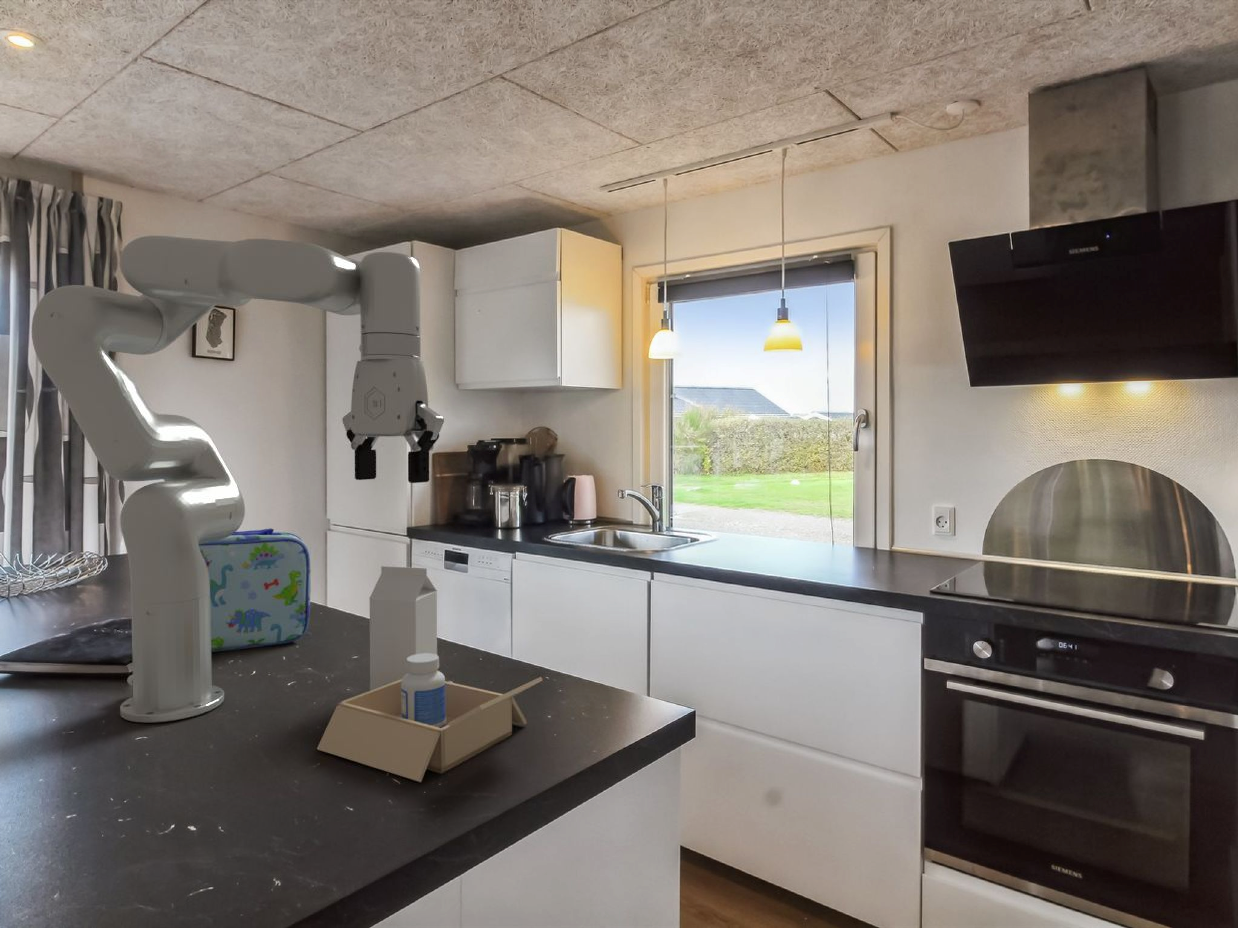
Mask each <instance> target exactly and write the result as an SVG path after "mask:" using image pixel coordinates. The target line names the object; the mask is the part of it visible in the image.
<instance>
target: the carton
mask: <svg viewBox="0 0 1238 928" xmlns="http://www.w3.org/2000/svg"><path fill="white" fill-rule="evenodd" d="M401 681H402V679H400V680H398V681H395V682H392V683H390V684H387V685H384V686H382V687H379V688H376V689H374V690H371V691H370V690H369V691H366V692H363V693H361V694H358V695H354V696H353V697H349V698H347V699H345V700H342V701H340V702H338V705H336V706H335V707H336V708H335V710H334V712H333V713H332V716H331V717H330V720H329V722H328V724H327V727H326V728H325V730H324V733H323V735H322V737H321V739H320V741H319V743H318V746H317V747H316V750H318V751H320V752H321V751H322V752H324V753H328V754H331V755H334V756H336V757H337V756H338V757H339V758H344V759H345V760H349V761H353V762H356V763H359V764H362V765H365V766H368V767H371V768H374V769H378V770H381V771H384V772H388V773H391V774H394V775H396V776H400V777H403V778H407V779H409V780H413V781H415V782H418V783H422V781H423V778H424V776H425V772H426V771H427V770H428V771H432V772H435V773H439V774H441V775H443V773H446V772H447V771H449V770H450V769H453V768H455V767H457V766H458V765H460V764H462V763H464V762H465V761H468V760H469V759H471V758H473V757H475V756H476V755H478V754H480V753H482V752H484V751H485V750H487V749H489V748H491V747H493V746H494V745H496V744H497V743H500V742H502V741H503V740H506V739H507V738H508V737H511V736H513V723H515V724H519V725H523V726H525V725H526V724H528V722H527V720H526V718H525V716H524V714H523V713H522V710H521V709H520V707H519V705H518V703H517V702H516V700H515V698H514V696H513V697H511V698H509V699H507V700H505V701H503V702H501V703H498V704H496V705H494V706H492V707H490V708H488V709H486V710H484V711H482V712H480V713H478V714H476V715H474V716H472V717H469V718H467V719H465V720H463V721H461V722H459V723H457V724H455V725H453V726H451V727H450V726H449V724H448V723H449V722H451V721H452V720H454V719H456V718H458V717H460V716H462V715H463V714H465V713H467V712H469V711H471V710H473V709H474V708H476V707H478V706H480V705H482V704H484V703H486V702H488V701H490V700H493V699H495V698H497V697H499V696H501V695H503V694H504V693H501V692H496V691H490V690H487V689H484V688H478V687H473V686H470V685H465V684H462V683H461V684H459V683H456V682H452V681H447V680H445V709H446V726H445V727H443V728H439V727H435V726H431V725H427V724H423V723H420V722H416V721H412V720H408V719H405V718H402V709H401V708H402V707H401Z"/></svg>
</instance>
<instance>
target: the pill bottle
mask: <svg viewBox="0 0 1238 928" xmlns="http://www.w3.org/2000/svg"><path fill="white" fill-rule="evenodd" d="M406 668H407V671H408V672H409V673H408V674H406V675H405V676H404V677H403V678H402V681H401V707H402V708H401V709H402V718H405V719H408V720H412V721H416V722H420V723H423V724H427V725H431V726H435V727H439V728H443V727H445V726H446V709H445V681H446V677H445V675H444V674H443V673H442V672H441V671H440V670H438V669H439V668H440V657H439V655H438V654H437V655H436V654H431V653H422V654H415V655H412V656H409V657H408V658H407V659H406Z"/></svg>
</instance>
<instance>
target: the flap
mask: <svg viewBox="0 0 1238 928" xmlns="http://www.w3.org/2000/svg"><path fill="white" fill-rule="evenodd" d="M543 680H544V679H543V677H542V676H539V677H538V678H535V679H533V680H531V681H529V682H527V683H524V684H522V685H521V686H518V687H517V688H514V689H512V690H510V691H508V692H505V693H502V694H503V695H501V696H499V697H497V698H495V699H493V700H490V701H488V702H486V703H484V704H482V705H480V706H478V707H476V708H474V709H473V710H471V711H469V712H467V713H465V714H463V715H462V716H460V717H458V718H456V719H454V720H452V721H451V722H449V723H448V724H449V726H450V727H451V726H453V725H455V724H457V723H459V722H461V721H463V720H465V719H467V718H469V717H472V716H474V715H476V714H478V713H480V712H482V711H484V710H486V709H488V708H490V707H492V706H494V705H496V704H498V703H501V702H503V701H505V700H507V699H509V698H511V697H513V698H514V697H515V696H517V695H518V694H520V693H522V692H524V691H525V690H527V689H530V688H531V687H533V686H535V685H536V684H539V683H541V682H542V681H543Z"/></svg>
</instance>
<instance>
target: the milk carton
mask: <svg viewBox="0 0 1238 928" xmlns="http://www.w3.org/2000/svg"><path fill="white" fill-rule="evenodd" d="M380 567H381V568H380V570H381V571H380V575H379V577H378V580H377V582H376V584H375V585H374V587H373V590H372V591H371V594H370V596H369V691H371V690H374V689H376V688H379V687H382V686H384V685H387V684H390V683H392V682H395V681H398V680H400V679H402V678H403V677H404V676H405V675H406V674H408V673H409V672H408V671H407V668H406V659H407V658H408V657H409V656H412V655H415V654H422V653H431V654H436V655H438V594H437V593H438V592H437V591H438V590H437V589H436V587H435V586H434V584H433V582H432V581H431V580H430V578H429V576H428V573H427V569H428V568H427V567H408V566H388V565H382V566H380Z"/></svg>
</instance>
